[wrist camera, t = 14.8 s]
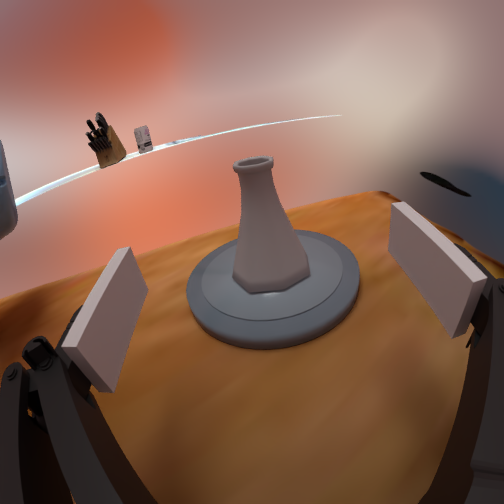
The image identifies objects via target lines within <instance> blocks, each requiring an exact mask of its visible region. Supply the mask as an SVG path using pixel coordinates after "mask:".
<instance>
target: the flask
mask: <svg viewBox="0 0 504 504" xmlns="http://www.w3.org/2000/svg"><path fill="white" fill-rule="evenodd" d="M271 168H273V157H269V156H257V157H251V158H246V159H242V160H239V161H236V162H234V164H233V169H234V171H235V172H236V173H238V176H239V181H240V186H241V219H240V227H239V234H238V242H237V248H236V255H235V261H234V267H233V275H232V278H233V279H234V280H235V281H236V282H238V283H239V284H240V285H241V286H242V287H243V288H244V289H246V290H247V291H248V292H261V291H272V290H282V289H286V288H287V287H289V286H291V285H293V284H294V283H296V282H298V281H299V280H301V279H303V278H304V277H306V276H308V275H309V274H311V273H310V267H309V262H308V256H307V254H306V252H305V250H304V248H303V246H302V244H301V242H300V240H299V238H298V236H297V235H296V233H295V231H294V229H293V227H292V225H291V223H290V221H289V219H288V217H287V215H286V213H285V211H284V209H283V208H282V205H281V203H280V201H279V198H278V195H277V192H276V189H275V186H274V183H273V177H272V171H271Z"/></svg>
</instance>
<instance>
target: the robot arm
mask: <svg viewBox="0 0 504 504" xmlns="http://www.w3.org/2000/svg"><path fill="white" fill-rule="evenodd" d="M17 221H18V214H17V209H16V204H15V200H14V195H13V191H12V186H11V182H10V177H9V172H8V168H7V163H6V158H5V153H4V149H3V145H2V143H1V140H0V240H1V239H2V238H4V237H5V236H6V235H8V234H9V233H11V232H12V231H13V230H14V228H15V227H16V225H17ZM388 251H389V252H390V254H391V255H392V256H393V257H394V259H395V260H396V261H397V263H398V264H399V265H400V266H401V268H402V269H403V270H404V272H405V273H406V274H407V276H408V277H409V278H410V279H411V281H412V282H413V283H414V285H415V286H416V288H417V289H418V290H419V292H420V293H421V294H422V296H423V297H424V299H425V300H426V301H427V303H428V304H429V306H430V307H431V309H432V310H433V311H434V313H435V314H436V316H437V317H438V319H439V320H440V322H441V323H442V325H443V326H444V328H445V329H446V331H447V332H448V334H449V335H450V337H451V339H453V338H455V337H458V336H460V335H463V334H465V333H466V331H467V329H468V327H469V324H470V322H471V323H472V325H473V326H474V330H473V332H472V335H471V337H470V339H469V341H468V343H467V345H466V348H468V347H469V345H470V344H471V345H470V353H469V359H468V365H467V371H466V376H465V381H464V386H463V390H462V395H461V399H460V403H459V407H458V411H457V414H456V418H455V422H454V425H453V428H452V431H451V435H450V438H449V441H448V444H447V447H446V449H445V452H444V455H443V457H442V460H441V463H440V465H439V468H438V470H437V473H436V475H435V477H434V480H433V482H432V484H431V486H430V488H429V490H428V491H427V493H426V494H425V495H424V496H423V497H422V499H421V500H420V501H419V503H418V504H504V279H503V278H499V279H495V278H494V277H493V276H492V275H491V274H490V273H489V271H488V270H487V269H486V268H485V267H484V266H483V265H482V264H481V263H480V262H477V260H476V259H475V258H474V257H473V256H472V255H471V254H470V253H469V252H468V251H467V250H466V249H465V248H463V247H461V246H459V245H458V244H456V243H454V244H453V243H452V242H451V241H450V240H449V239H447V238H446V237H445V236H444V235H443V234H442V233H441V232H440V231H439V230H437V229H436V228H435V227H434V226H433V225H432V224H430V223H429V222H428V221H427V220H426V219H425V218H423V217H422V216H421V215H420V214H419V213H417V212H416V211H415V210H414V209H412V208H411V207H410V206H409V205H407V204H406V203H405V202H398V203H391V220H390V234H389V246H388ZM147 292H148V288H147V286H146V283H145V281H144V279H143V276H142V274H141V272H140V269H139V267H138V265H137V262H136V260H135V257H134V255H133V253H132V250H131V247H125V248H121V249H117V251H116V252H115V254H114V255H113V257H112V259H111V260H110V261H109V263H108V265H107V266H106V268H105V269H104V271H103V273H102V274H101V276H100V277H99V279H98V281H97V282H96V284H95V286H94V287H93V289H92V291H91V292H90V294H89V296H88V298H87V299H86V301H85V303H84V305H81V307H80V308H79V309H78V310H77V311H76V312H75V313H74V314H73V316H72V318H71V320H70V323H68V325H67V327H66V330H65V331H64V333H63V335H62V337H61V339H60V340H59V342H58V344H57V346H56V348H55V350H54V348H53V347H52V346H51V344H50V343H49V342H48V340H47V339H46V338H45V337H43V336H37V337H35V338H33V339H32V340H31V341H29V342H28V343H27V345H26V346H25V347H24V349H23V352H22V357H23V359H24V360H25V361H26V362H27V363H28V364H29V366H30V367H31V369H28V370H26V369H25V368H24V367H23V366H22V365H21V363H19V362H15V363H13V364H11V365H9V366H8V367H7V368H6V370H5V372H4V374H3V377H2V382H1V389H0V504H73V501H72V497H71V494H72V496H73V498H74V500H75V502H76V504H158V503H157V502H156V501H155V499H154V498H153V497H152V495H151V494H150V493H149V491H148V490H147V488H146V487H145V486H144V484H143V483H142V481H141V480H140V478H139V477H138V475H137V474H136V472H135V471H134V469H133V468H132V466H131V464H130V463H129V461H128V460H127V458H126V456H125V455H124V453H123V451H122V450H121V448H120V446H119V444H118V443H117V441H116V439H115V437H114V436H113V434H112V432H111V430H110V428H109V426H108V424H107V422H106V420H105V418H104V416H103V414H102V412H101V410H100V408H99V406H98V404H97V402H96V400H95V398H94V395H93V394H92V393H91V392H90V391H89V390H90V387H91V384H92V385H93V386H94V387H95V388H96V389H97V390H98V391H99V392H107V393H114V392H115V388H116V385H117V382H118V378H119V375H120V372H121V368H122V365H123V362H124V359H125V355H126V352H127V349H128V346H129V343H130V340H131V337H132V334H133V331H134V328H135V326H136V323H137V320H138V317H139V314H140V311H141V309H142V306H143V303H144V300H145V298H146V295H147ZM28 409H29V410H31V411H32V417H31V416H29V415H28V411H27V410H28ZM70 491H71V493H70Z"/></svg>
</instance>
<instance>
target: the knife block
mask: <svg viewBox="0 0 504 504" xmlns="http://www.w3.org/2000/svg"><path fill="white" fill-rule="evenodd" d="M95 121H96V122H97V123H98V126H99V128H98V129H97V130H96V129H95V126H94V125H93V123H92V122H91V121H90V120H87V124H88V126H89V127H90V129H91V130H92V131H91V132H90V133H89V132H87V133H86V135H87V136H88V138H89V140H90V141H91V142H90V143H88V145H89V146H90V147H91V148H92V149H93V151H94V152H95V153H96V156H97V159H98V162H99V165H100V168H105V167H106V166H109V165H111V164H114V163H115V164H116V163H118V162H119V161H120V160H121V159H122V158H123V157H125V156H126V150H125V148H124V147H123V145H122V143H121V142H120V140H119V138H118V136H117V135H116V133H115V131H114V130H113V128H112V126H111V125H110V126H108V124H107V122H106V120H105V118H104V117H103V115H102V114H101V113H99V112H97V113H96V120H95ZM92 132H93V134H94V137H93V136H92V135H91V133H92Z"/></svg>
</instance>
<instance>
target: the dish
mask: <svg viewBox="0 0 504 504" xmlns="http://www.w3.org/2000/svg"><path fill="white" fill-rule="evenodd" d="M294 231H295V233H296V235H297V236H298V238H299V240H300V242H301V244H302V246H303V248H304V250H305V252H306V254H307V256H308V262H309V267H310V273H311V274H309V275H308V276H306V277H304V278H303V279H301V280H299V281H298V282H296V283H294V284H293V285H291V286H289V287H287V288H286V289H282V290H272V291H261V292H248V291H247V290H246V289H244V288H243V287H242V286H241V285H240V284H239V283H238V282H236V281H235V280H234V279H233V278H232V275H233V267H234V261H235V255H236V248H237V242H238V239H235V240H233V241H230V242H228V243H226V244H224V245H222V246H220V247H219V248H217V249H215V250H214V251H212V252H211V253H210V254H208V255H207V256H206V257H205V258H204V259H202V260H201V261H200V262H199V264H198V265H197V266H196V267H195V269H194V270H193V271H192V273H191V275H190V277H189V280H188V283H187V289H186V292H187V299H188V302H189V305H190V308H191V310H192V313H193V315H194V317H195V319H196V321H197V323H198V324H199V325H200V326H201V327H202V328H203V330H205V331H206V332H207V333H208V334H210V335H211V336H213V337H214V338H216V339H218V340H220V341H222V342H225V343H227V344H230V345H234V346H238V347H242V348H250V349H277V348H285V347H290V346H294V345H298V344H301V343H304V342H307V341H310V340H312V339H315V338H317V337H319V336H321V335H323V334H324V333H326V332H328V331H329V330H331V329H332V328H334V327H335V326H336V325H337V324H339V323H340V322H341V321H342V320H343V319H344V318H345V317H346V316H347V314H348V313H349V312H350V310H351V309H352V307H353V306H354V304H355V301H356V299H357V295H358V290H359V276H360V275H359V266H358V262H357V260H356V258H355V256H354V255H353V253H352V252H351V251H350V250H349V249H348V248H347V247H346V246H345V245H344V244H342V243H341V242H339V241H337V240H335V239H334V238H331V237H329V236H326V235H323V234H320V233H316V232H311V231H305V230H294Z"/></svg>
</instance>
